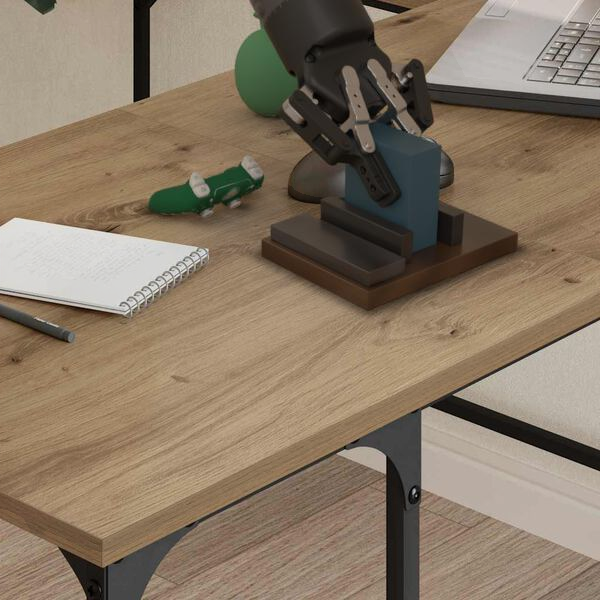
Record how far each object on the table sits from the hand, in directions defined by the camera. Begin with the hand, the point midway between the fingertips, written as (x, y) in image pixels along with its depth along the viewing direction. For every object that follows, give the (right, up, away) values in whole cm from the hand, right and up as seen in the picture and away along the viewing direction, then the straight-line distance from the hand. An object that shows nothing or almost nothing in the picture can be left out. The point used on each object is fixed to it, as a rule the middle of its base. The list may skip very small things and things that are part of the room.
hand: (410, 194), depth 106 cm
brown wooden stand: (-1, -4, +4) cm, 6 cm away
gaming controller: (-16, -1, +11) cm, 19 cm away
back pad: (-1, -3, +3) cm, 5 cm away
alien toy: (-11, +10, +33) cm, 36 cm away
